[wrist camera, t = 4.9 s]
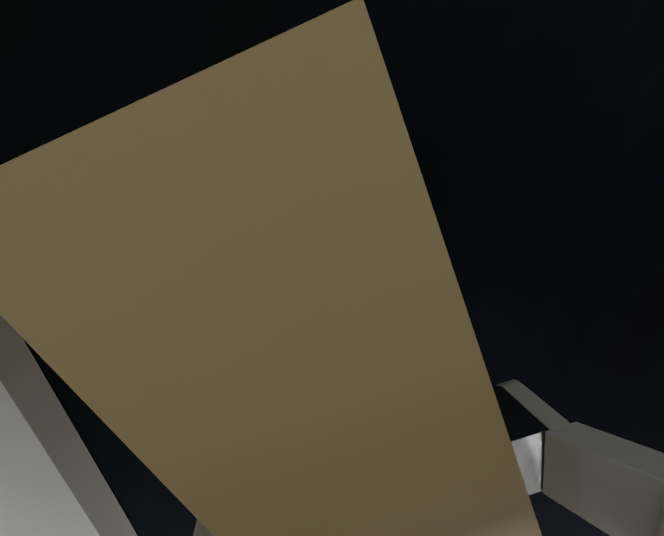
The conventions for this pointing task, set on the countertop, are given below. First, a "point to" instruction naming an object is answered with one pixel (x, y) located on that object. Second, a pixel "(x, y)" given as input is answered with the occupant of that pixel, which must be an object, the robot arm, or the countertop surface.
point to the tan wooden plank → (266, 299)
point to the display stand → (46, 458)
